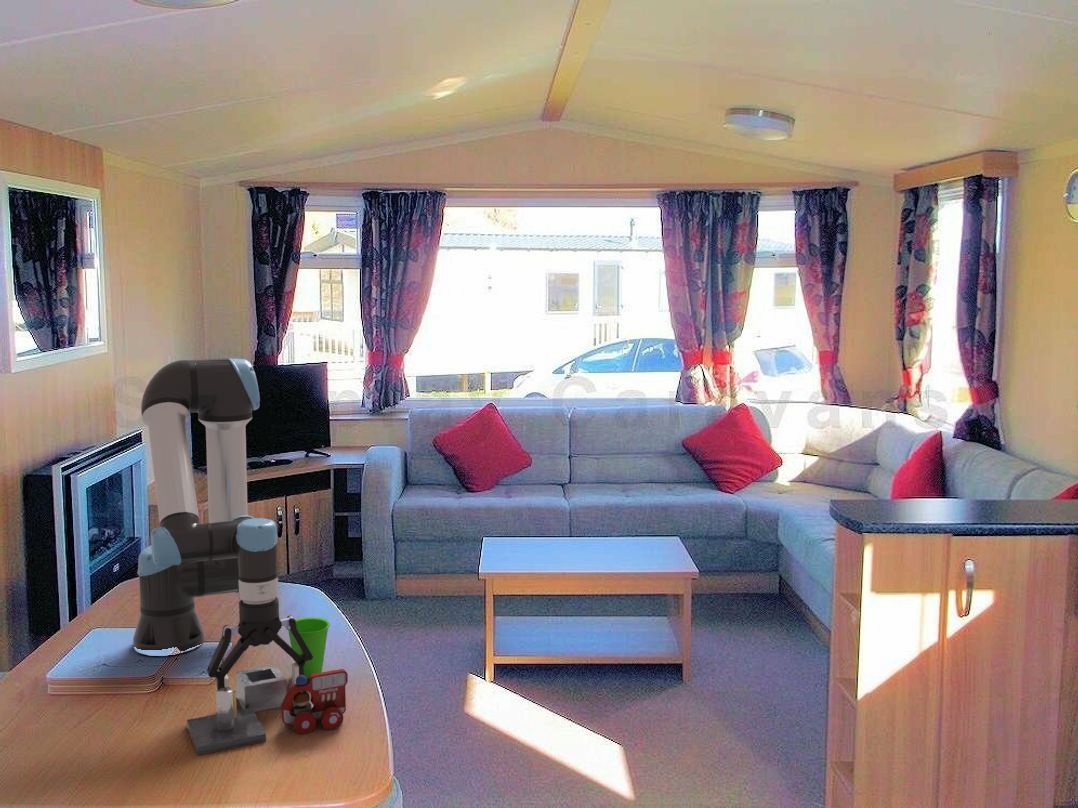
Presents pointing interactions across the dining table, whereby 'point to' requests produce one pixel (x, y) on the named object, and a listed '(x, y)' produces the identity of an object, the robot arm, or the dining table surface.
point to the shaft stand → (225, 726)
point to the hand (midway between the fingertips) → (261, 701)
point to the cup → (312, 642)
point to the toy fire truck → (316, 701)
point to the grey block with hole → (261, 688)
